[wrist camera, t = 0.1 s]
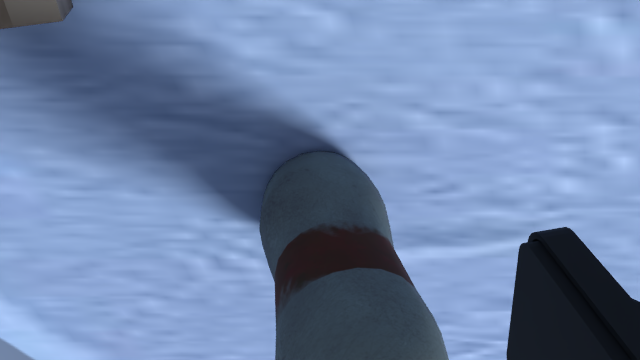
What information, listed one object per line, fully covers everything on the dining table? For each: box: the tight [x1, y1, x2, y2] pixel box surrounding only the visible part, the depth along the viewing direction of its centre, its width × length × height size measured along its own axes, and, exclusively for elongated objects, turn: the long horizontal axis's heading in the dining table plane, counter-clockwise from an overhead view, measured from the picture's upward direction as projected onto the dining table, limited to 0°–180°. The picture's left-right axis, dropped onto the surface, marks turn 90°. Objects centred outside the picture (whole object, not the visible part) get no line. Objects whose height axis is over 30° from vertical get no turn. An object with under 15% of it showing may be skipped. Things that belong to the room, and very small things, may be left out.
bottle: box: [260, 151, 449, 360], centre depth 33 cm, size 9×9×30 cm
